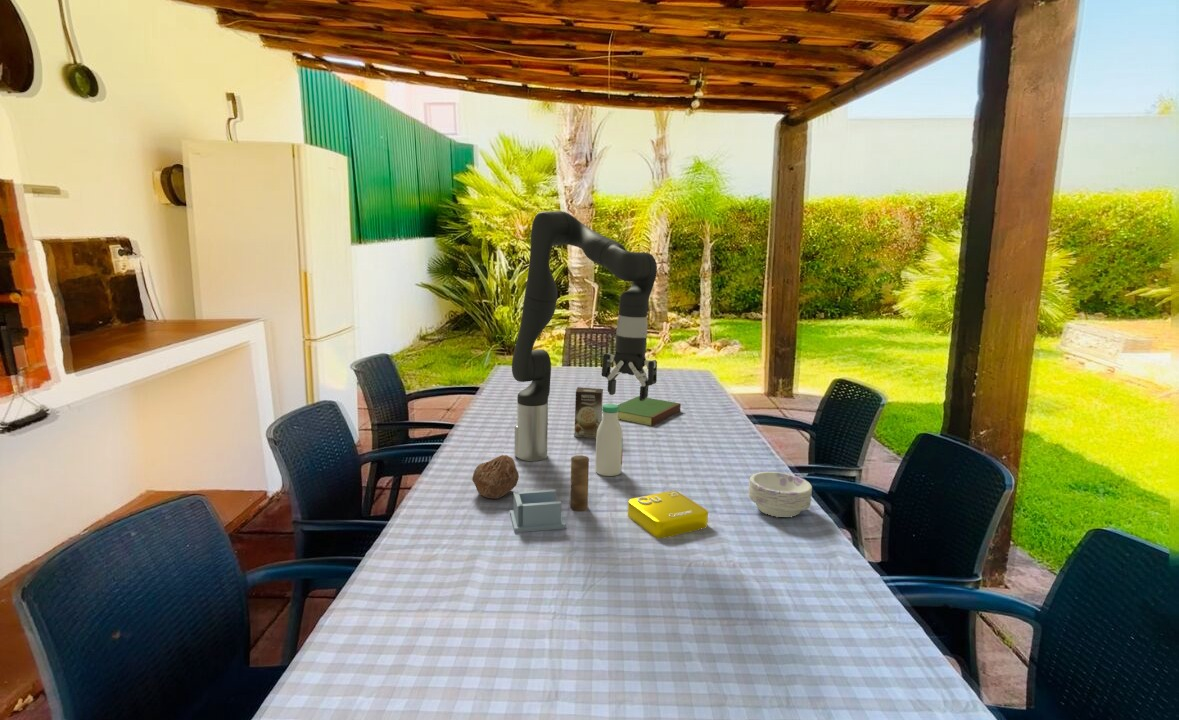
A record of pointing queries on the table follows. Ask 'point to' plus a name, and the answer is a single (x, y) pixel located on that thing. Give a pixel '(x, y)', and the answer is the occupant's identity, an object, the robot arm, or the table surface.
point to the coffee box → (588, 411)
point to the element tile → (667, 514)
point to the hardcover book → (647, 410)
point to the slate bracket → (536, 511)
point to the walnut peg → (579, 483)
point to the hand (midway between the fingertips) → (627, 397)
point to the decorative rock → (496, 477)
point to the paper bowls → (780, 493)
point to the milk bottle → (609, 443)
